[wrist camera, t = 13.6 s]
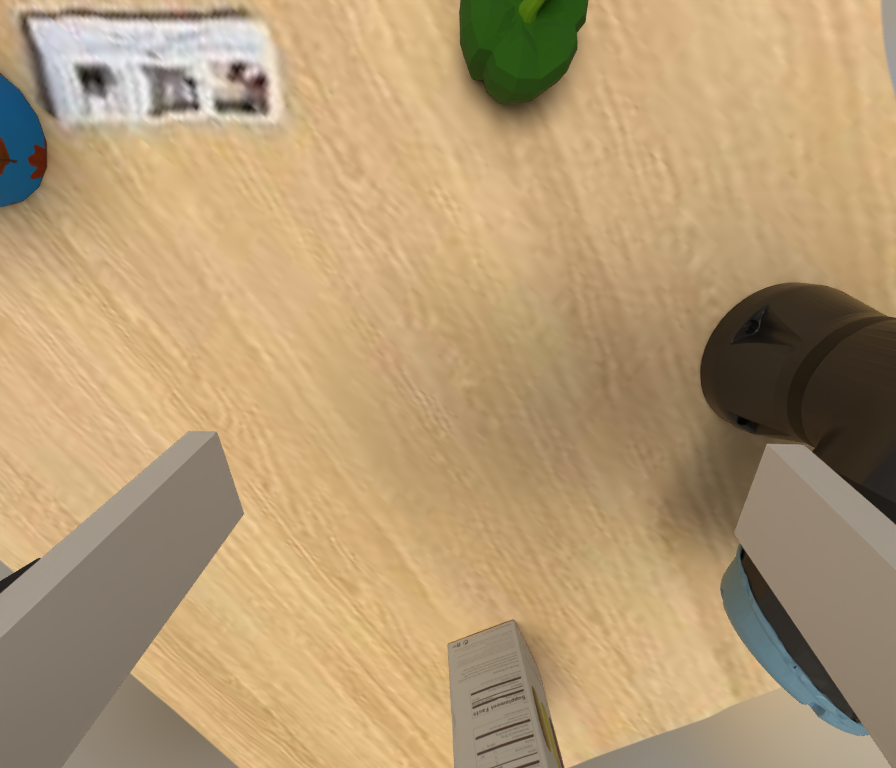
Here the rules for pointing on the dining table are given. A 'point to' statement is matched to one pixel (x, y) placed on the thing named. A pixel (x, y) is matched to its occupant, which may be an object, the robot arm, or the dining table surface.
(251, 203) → the dining table surface
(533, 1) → the bell pepper
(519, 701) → the supplement box
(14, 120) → the thermos
